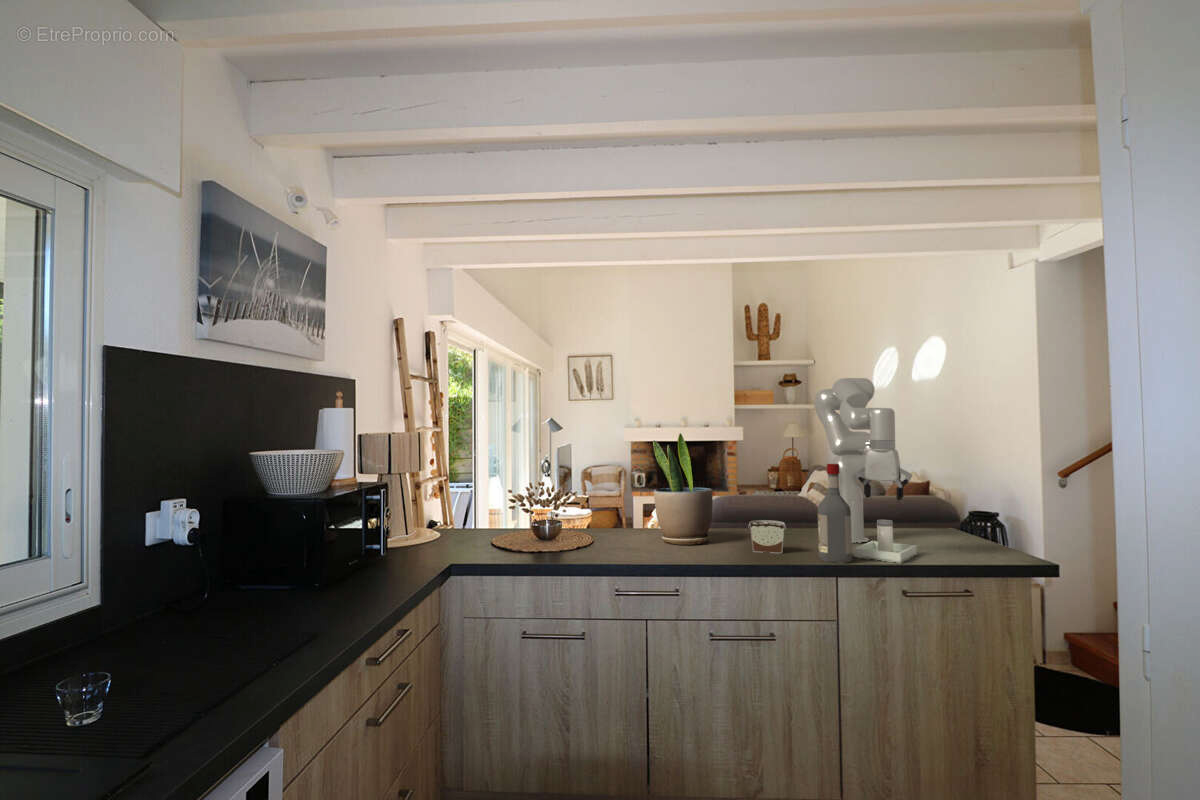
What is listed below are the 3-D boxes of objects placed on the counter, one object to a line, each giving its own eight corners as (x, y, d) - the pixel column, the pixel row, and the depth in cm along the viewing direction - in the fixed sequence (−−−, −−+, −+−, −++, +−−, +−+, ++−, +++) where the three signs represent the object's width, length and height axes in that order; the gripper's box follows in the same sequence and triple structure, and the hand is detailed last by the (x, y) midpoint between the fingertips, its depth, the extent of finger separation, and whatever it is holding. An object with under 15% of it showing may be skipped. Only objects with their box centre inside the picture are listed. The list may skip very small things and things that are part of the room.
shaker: (875, 553, 202) (875, 520, 202) (880, 551, 205) (879, 519, 206) (890, 555, 199) (890, 521, 199) (895, 553, 202) (894, 520, 203)
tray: (853, 557, 200) (853, 548, 200) (872, 549, 213) (872, 540, 213) (900, 563, 190) (900, 553, 190) (916, 554, 204) (916, 545, 204)
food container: (787, 550, 212) (787, 520, 213) (786, 553, 206) (786, 523, 207) (750, 548, 216) (749, 519, 217) (748, 551, 210) (748, 521, 211)
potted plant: (645, 538, 237) (644, 433, 239) (696, 535, 243) (695, 432, 246) (668, 548, 217) (667, 432, 219) (724, 544, 223) (722, 432, 226)
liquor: (848, 558, 199) (846, 463, 201) (853, 563, 190) (850, 464, 192) (818, 556, 201) (816, 463, 203) (821, 562, 192) (819, 464, 194)
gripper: (851, 445, 207) (852, 497, 206) (907, 446, 195) (908, 501, 195) (859, 444, 212) (860, 495, 212) (914, 446, 201) (915, 499, 200)
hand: (883, 498), depth 203 cm, fingers open, 9 cm apart
